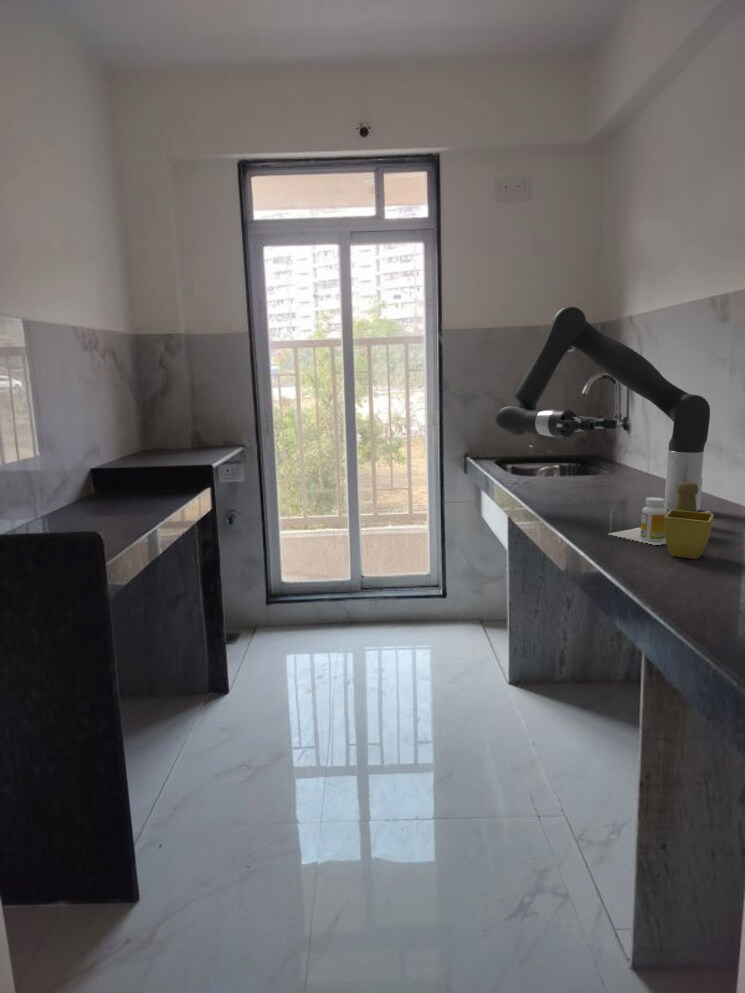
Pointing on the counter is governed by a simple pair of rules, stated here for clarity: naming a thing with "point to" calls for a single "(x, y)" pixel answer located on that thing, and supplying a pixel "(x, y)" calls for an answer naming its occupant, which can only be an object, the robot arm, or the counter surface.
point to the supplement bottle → (653, 520)
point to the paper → (635, 536)
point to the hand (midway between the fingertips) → (605, 425)
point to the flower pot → (687, 532)
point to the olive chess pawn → (686, 496)
